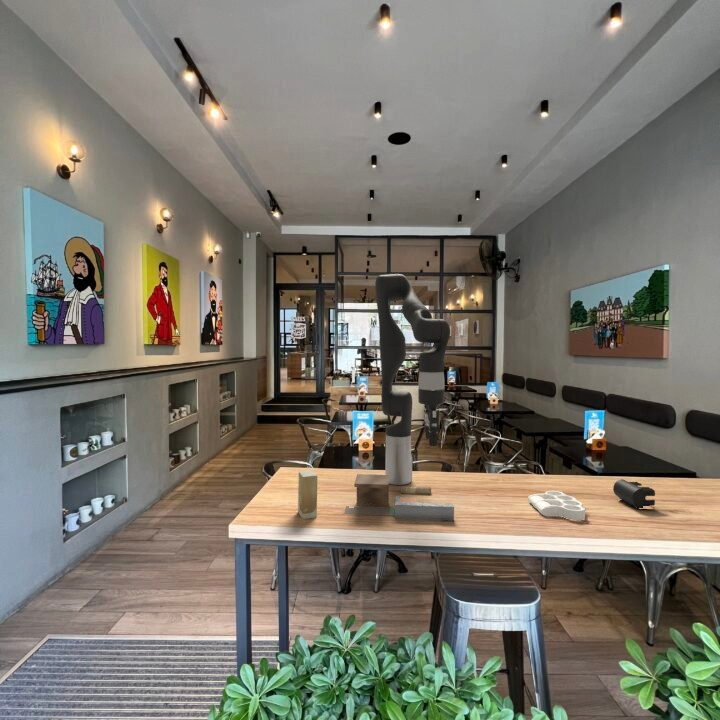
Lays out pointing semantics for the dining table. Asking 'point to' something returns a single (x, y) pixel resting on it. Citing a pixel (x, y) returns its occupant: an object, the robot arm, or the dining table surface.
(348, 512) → the green flat plank
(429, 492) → the dowel
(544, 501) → the white segmented tray
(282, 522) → the dining table surface
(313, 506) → the skincare box
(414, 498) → the block
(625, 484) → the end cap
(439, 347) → the robot arm
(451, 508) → the crook
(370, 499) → the brown wooden box
